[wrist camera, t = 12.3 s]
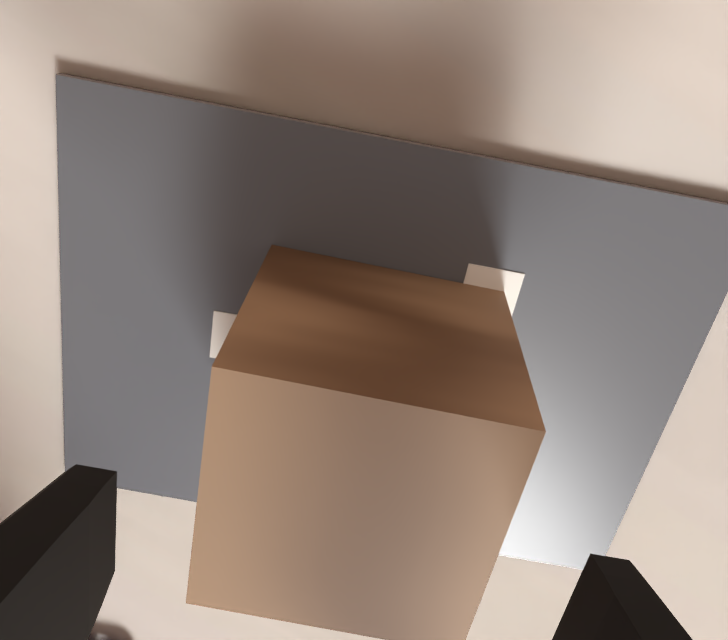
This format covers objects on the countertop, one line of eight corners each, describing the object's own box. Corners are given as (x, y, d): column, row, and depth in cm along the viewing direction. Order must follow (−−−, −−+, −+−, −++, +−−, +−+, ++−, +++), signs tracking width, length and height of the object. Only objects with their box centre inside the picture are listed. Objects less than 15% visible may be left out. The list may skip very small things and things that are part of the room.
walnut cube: (244, 435, 17) (186, 603, 12) (271, 244, 15) (211, 366, 10) (446, 473, 17) (460, 653, 13) (504, 291, 15) (546, 431, 10)
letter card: (68, 473, 18) (64, 479, 18) (60, 73, 13) (54, 74, 13) (595, 566, 18) (597, 573, 18) (760, 209, 14) (765, 212, 14)
